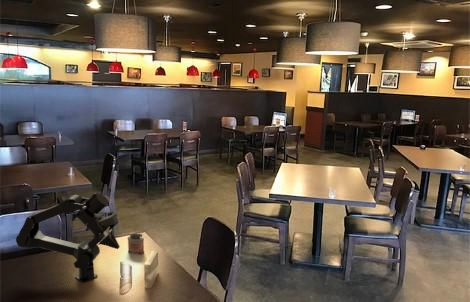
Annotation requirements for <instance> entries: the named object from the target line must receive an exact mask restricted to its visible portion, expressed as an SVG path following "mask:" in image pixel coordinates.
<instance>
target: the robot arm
mask: <svg viewBox="0 0 470 302" xmlns="http://www.w3.org/2000/svg"><path fill="white" fill-rule="evenodd" d="M109 204H110V202H109V199H108V198H107V197H106V196H105V195H103V194H101V193H99V192H95V193H92V195H91V197H89V198H87V197H83V196H81V195H79V194H73V195H71V196H70V197H68V198H66V199H65V200H63V201H62V202H59V204H56V205H54V206H53V205H52V206H51V207H49V208H45V209H43V210H41V211H38V212H34V213H32V214H31V215H29V216H27V217H26V218H25V221H24V224H23V225H22V227H21V229H20V231H19V232H18V235H17V236H16V238H15V242H16V244H17V246H18V247H19V248H22V249H23V248H25V249H34V248H41V249H44V250H49V251H53V252H57V253H61V254H65V255H68V256H72V257H74V258H75V261H74V263H73V266H74V268H75V269H77V270H78V274H76V275H75V276H74V277H75V279H77V280H79V281H80V282H82V283H86V282H88V281H90V280H92V279H95V278H97V277H98V274H96V273H95V268H94V260H96V259H97V257H98V256H99V254H100V253H101V250H100V247H99V245H102V246H106V247H108V248H109V247H110V248H113V249H116V250H118V249H120V244H119V242H118V240H117V238H116V236H115V229H116V228H114V227H116V226H117V225H118V224H119V218H118V214H116V212H115V211H113V210H111V211H109V212H108V213H107V215H106V216H105V217H103V216H101V215H99V216H97V215H98V214H100V213H101V212H102V211H103V210H105V208H106V207H107V206H108V205H109ZM84 207H85V208H84ZM76 211H77V212H76ZM67 214H71V216H72V217H71V221H72V222H74V221H75V220H76V219H77V220H78V221H79V222H80V223H81V224H83V226H85V231H86V232H88V231H90V232H91V233H92V235H93V236H92V239H90V240H83V241H81V243H75V242H70V241H67V240H63V239H59V238H55V237H51V236H48V235H45V234H44V233H42V231H40V227H41V225H40V224H41V223H42V222H44V221H46V220H49V219H51V218H54V217H56V216H60V215H67Z"/></svg>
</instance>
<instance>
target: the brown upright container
mask: <svg viewBox="0 0 470 302" xmlns="http://www.w3.org/2000/svg"><path fill="white" fill-rule="evenodd" d="M144 242H145V237H143V233H140V232H130V233H129V236H127V248H128V249H127V252H128V254H131V255H136V256H143V255H144V254H145V250H144V249H145V248H144V247H145V246H144V244H145V243H144Z"/></svg>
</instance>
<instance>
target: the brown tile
mask: <svg viewBox="0 0 470 302" xmlns="http://www.w3.org/2000/svg"><path fill="white" fill-rule="evenodd" d="M143 266H144V267H143V273H144V274H143V275H144V288H145V289H151V288H152V287H153V284H154V283H155V281H156V279H157V277H158V274H159V251H158V250H151V252H150V254H149V255H148V257H147V259H146V260H145V262H144V263H143Z"/></svg>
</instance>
